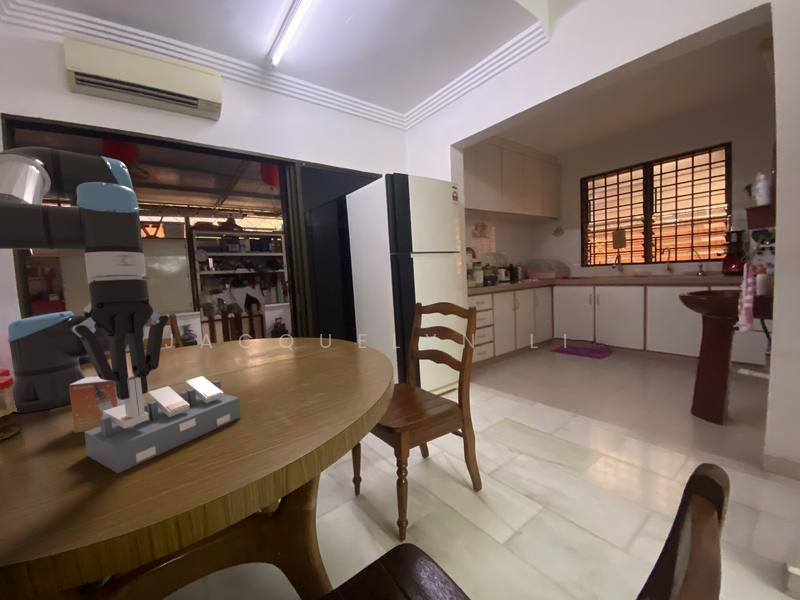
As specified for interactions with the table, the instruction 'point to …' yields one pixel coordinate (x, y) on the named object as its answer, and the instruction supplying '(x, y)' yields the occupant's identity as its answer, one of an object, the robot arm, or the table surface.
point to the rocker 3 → (204, 389)
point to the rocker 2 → (168, 401)
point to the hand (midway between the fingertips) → (135, 414)
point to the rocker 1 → (124, 417)
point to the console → (158, 430)
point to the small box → (92, 401)
